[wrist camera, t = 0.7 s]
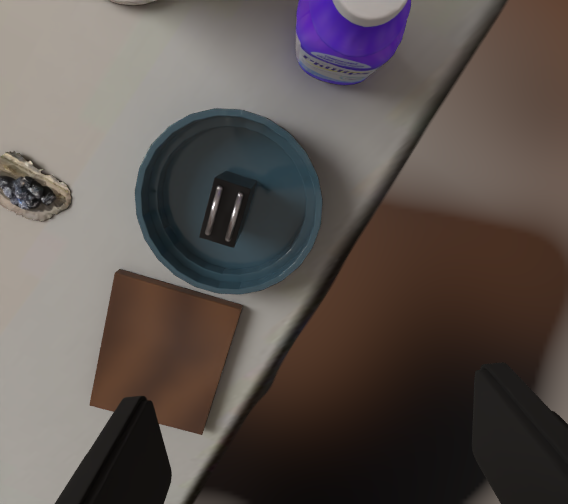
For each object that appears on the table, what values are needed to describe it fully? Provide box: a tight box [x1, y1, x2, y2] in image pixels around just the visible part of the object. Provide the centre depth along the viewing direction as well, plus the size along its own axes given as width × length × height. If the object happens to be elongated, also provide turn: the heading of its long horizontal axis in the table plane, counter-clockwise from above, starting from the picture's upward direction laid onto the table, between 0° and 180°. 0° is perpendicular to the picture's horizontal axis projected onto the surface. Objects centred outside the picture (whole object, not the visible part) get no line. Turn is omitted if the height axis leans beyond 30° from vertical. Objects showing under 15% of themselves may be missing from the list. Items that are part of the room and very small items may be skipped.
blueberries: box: [0, 152, 72, 222], centre depth 37 cm, size 7×8×2 cm
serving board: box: [90, 269, 243, 435], centre depth 43 cm, size 14×18×1 cm
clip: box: [199, 171, 257, 248], centre depth 34 cm, size 3×6×6 cm, turn 162°
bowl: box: [135, 108, 323, 294], centre depth 36 cm, size 17×17×4 cm
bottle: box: [296, 0, 411, 85], centre depth 25 cm, size 7×6×17 cm
